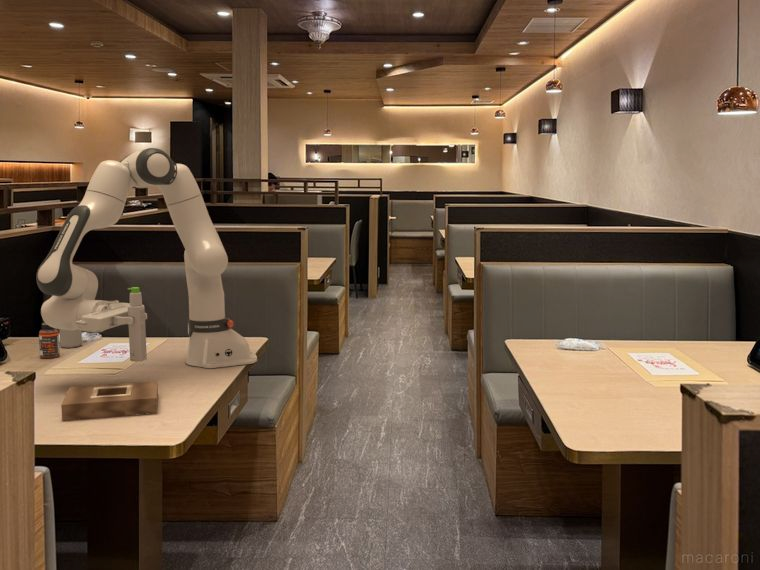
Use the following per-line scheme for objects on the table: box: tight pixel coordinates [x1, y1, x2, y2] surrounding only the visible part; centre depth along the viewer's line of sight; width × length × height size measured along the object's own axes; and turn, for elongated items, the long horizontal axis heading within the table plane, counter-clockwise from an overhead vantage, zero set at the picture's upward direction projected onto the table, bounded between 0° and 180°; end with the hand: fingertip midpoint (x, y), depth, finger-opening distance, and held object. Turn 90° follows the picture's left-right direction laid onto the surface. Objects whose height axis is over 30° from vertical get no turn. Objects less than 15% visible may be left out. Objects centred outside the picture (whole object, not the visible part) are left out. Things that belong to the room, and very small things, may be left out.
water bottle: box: [58, 329, 83, 349], centre depth 257 cm, size 9×8×25 cm
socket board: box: [60, 380, 159, 421], centre depth 189 cm, size 22×16×4 cm
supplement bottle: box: [38, 322, 61, 360], centre depth 242 cm, size 6×6×11 cm
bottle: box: [127, 286, 148, 363], centre depth 200 cm, size 4×4×20 cm
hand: (139, 318), depth 200 cm, fingers closed on bottle, 4 cm apart
